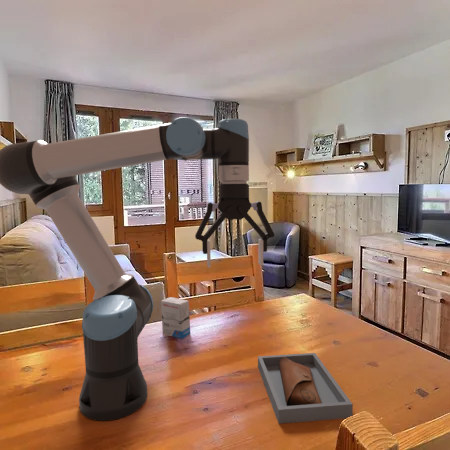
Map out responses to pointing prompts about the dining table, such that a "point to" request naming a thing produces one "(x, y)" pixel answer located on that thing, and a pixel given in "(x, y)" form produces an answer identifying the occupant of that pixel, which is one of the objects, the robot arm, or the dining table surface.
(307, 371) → the sunglasses case
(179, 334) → the ink box
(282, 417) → the holder
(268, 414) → the dining table surface
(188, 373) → the dining table surface
